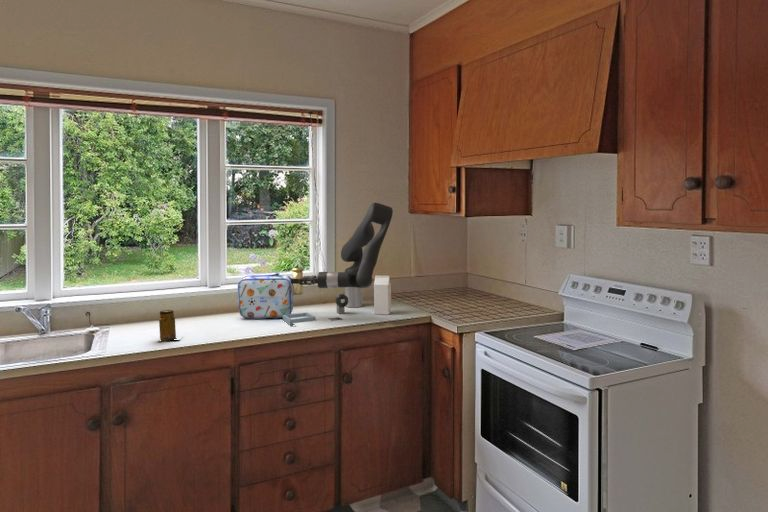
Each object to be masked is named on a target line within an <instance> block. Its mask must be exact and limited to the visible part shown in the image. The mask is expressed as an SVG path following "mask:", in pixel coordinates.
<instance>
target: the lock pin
mask: <svg viewBox="0 0 768 512" xmlns="http://www.w3.org/2000/svg"><path fill="white" fill-rule="evenodd" d="M291 271H292V279H299V278H303V277H304V276H303V271H304V267H293V268H291ZM302 283H303V280H302ZM293 289H294V295H293V296H301V295H304V285H300V284H293Z"/></svg>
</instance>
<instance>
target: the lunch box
mask: <svg viewBox="0 0 768 512" xmlns="http://www.w3.org/2000/svg"><path fill="white" fill-rule="evenodd" d="M291 279H292V278H291V277H290V275H284V274H283V275H280V273H278V272H277V273H274V274H259V275H257V274H256V275H255V274H254V275H253V274H252V275H246V276H244V277H243V276H242V278H241V279H240V280H239V281H238V284H237V299H238V311H239V315H240V316H241V317H242V318H243V319H244V318H245V319H250V320H251V319H253V320H254V319H255V320H257V319H258V320H259V319H260V320H267V319H266V318H273V319H283V315H288V314H292V312H293V310H294V296H295V295H294V289H293V284H291Z"/></svg>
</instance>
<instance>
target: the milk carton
mask: <svg viewBox="0 0 768 512" xmlns="http://www.w3.org/2000/svg"><path fill="white" fill-rule="evenodd" d="M391 285H392V283H391V279H390V275H375V277H374V282H373V290H374V291H373V297H374V298H373V300H374V301H373V305H374V315H390V313H391V312H392V286H391Z"/></svg>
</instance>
